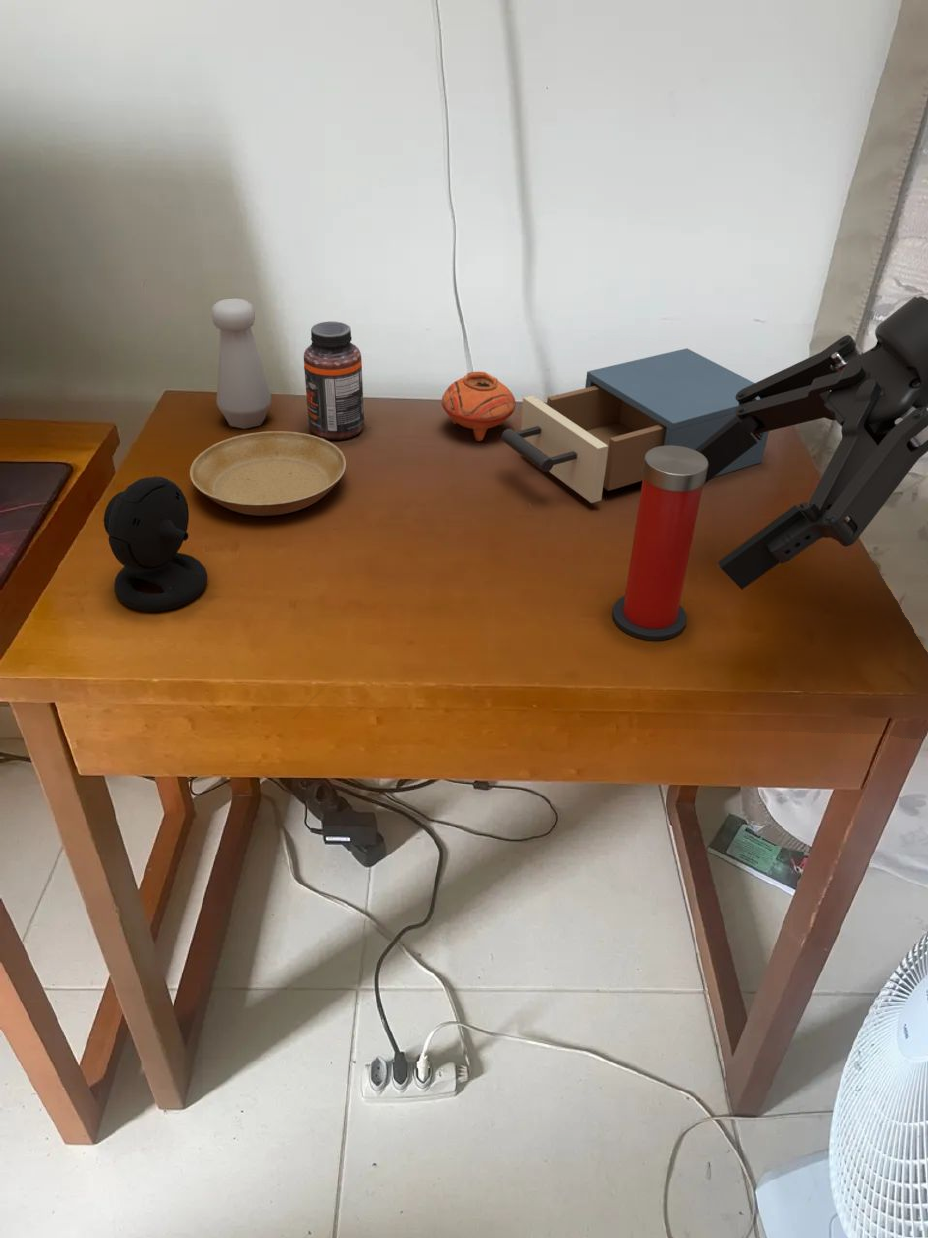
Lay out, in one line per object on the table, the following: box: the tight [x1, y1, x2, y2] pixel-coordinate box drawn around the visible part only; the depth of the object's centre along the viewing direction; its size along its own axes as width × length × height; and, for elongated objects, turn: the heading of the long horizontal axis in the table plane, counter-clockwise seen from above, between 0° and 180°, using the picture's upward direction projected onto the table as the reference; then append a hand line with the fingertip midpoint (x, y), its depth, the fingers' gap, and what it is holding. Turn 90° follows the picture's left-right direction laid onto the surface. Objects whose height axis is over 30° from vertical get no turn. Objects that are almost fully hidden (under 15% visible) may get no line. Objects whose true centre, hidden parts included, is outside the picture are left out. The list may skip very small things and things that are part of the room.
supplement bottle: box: [303, 320, 365, 441], centre depth 103 cm, size 6×6×11 cm
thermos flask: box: [623, 445, 708, 629], centre depth 76 cm, size 5×5×14 cm
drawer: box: [501, 385, 667, 504], centre depth 97 cm, size 17×12×6 cm
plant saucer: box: [189, 430, 347, 517], centre depth 95 cm, size 15×15×3 cm
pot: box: [441, 371, 517, 442], centre depth 105 cm, size 8×8×7 cm
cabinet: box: [584, 347, 770, 478], centre depth 102 cm, size 14×14×8 cm
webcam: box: [103, 475, 208, 612], centre depth 79 cm, size 8×8×10 cm
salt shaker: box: [211, 298, 272, 430], centre depth 103 cm, size 6×6×13 cm
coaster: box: [611, 595, 688, 642], centre depth 80 cm, size 6×6×1 cm
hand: (703, 525), depth 75 cm, fingers open, 13 cm apart
